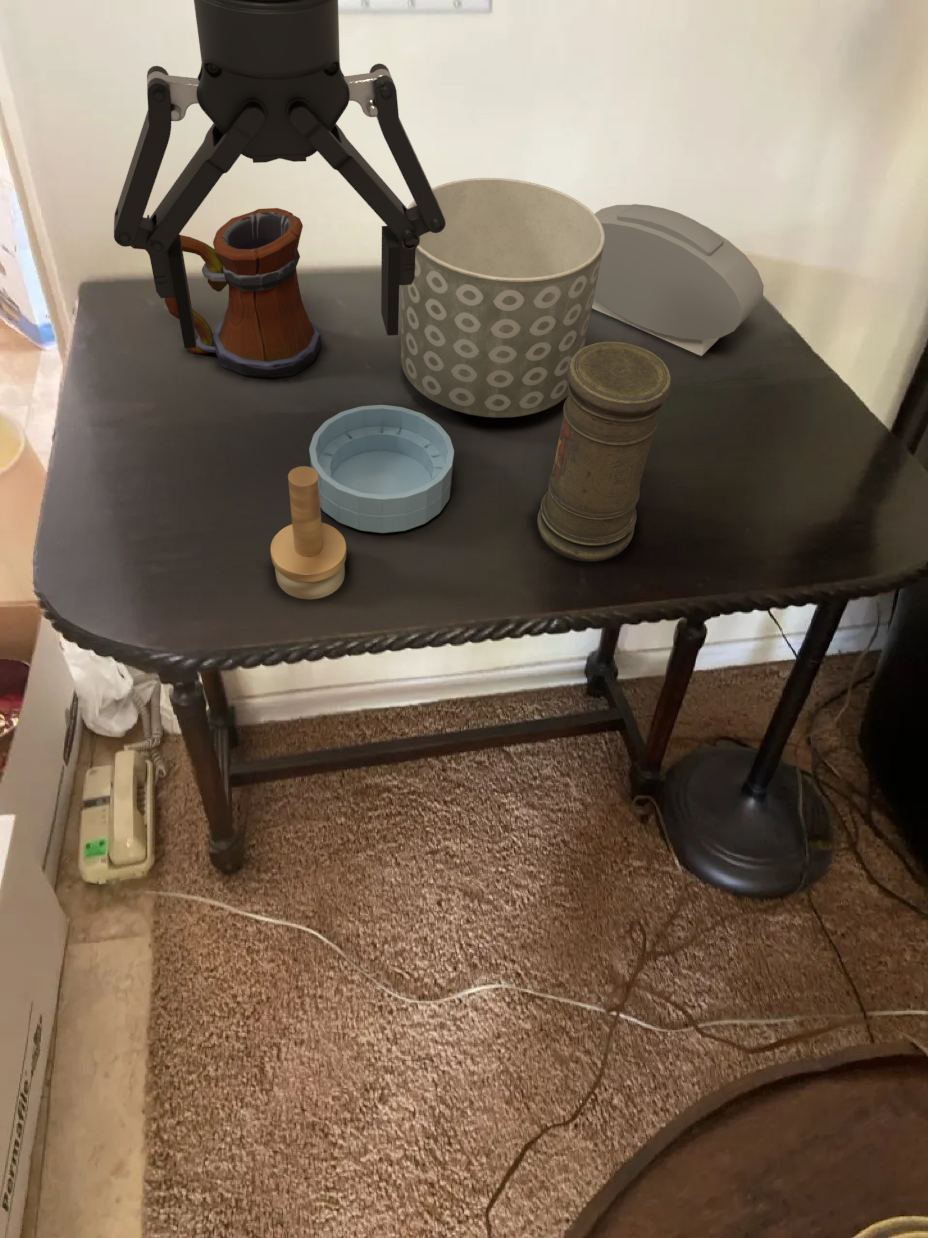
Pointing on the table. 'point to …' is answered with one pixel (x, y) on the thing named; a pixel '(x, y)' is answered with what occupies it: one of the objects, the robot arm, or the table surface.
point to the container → (602, 450)
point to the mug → (255, 296)
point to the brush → (308, 543)
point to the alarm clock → (673, 277)
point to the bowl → (382, 468)
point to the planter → (500, 297)
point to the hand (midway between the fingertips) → (291, 330)
